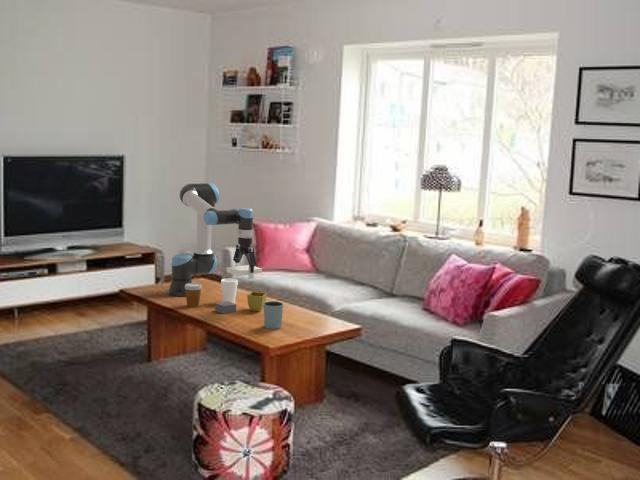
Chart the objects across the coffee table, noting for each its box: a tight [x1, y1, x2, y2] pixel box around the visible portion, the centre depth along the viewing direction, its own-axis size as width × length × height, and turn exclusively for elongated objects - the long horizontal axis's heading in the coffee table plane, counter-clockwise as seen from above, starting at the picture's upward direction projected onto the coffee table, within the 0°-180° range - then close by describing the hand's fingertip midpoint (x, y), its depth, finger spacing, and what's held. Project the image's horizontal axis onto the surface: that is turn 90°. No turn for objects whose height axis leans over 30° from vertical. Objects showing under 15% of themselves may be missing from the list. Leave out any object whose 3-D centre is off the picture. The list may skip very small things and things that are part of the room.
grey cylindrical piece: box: [262, 300, 284, 330], centre depth 366 cm, size 10×10×12 cm
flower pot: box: [246, 291, 267, 312], centre depth 397 cm, size 9×9×9 cm
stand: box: [214, 301, 237, 314], centre depth 392 cm, size 8×8×4 cm
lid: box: [226, 264, 263, 277], centre depth 391 cm, size 12×15×2 cm
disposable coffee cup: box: [184, 282, 203, 308], centre depth 399 cm, size 10×10×12 cm
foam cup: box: [220, 278, 239, 304], centre depth 409 cm, size 10×9×13 cm
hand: (244, 276), depth 392 cm, fingers closed on lid, 12 cm apart
